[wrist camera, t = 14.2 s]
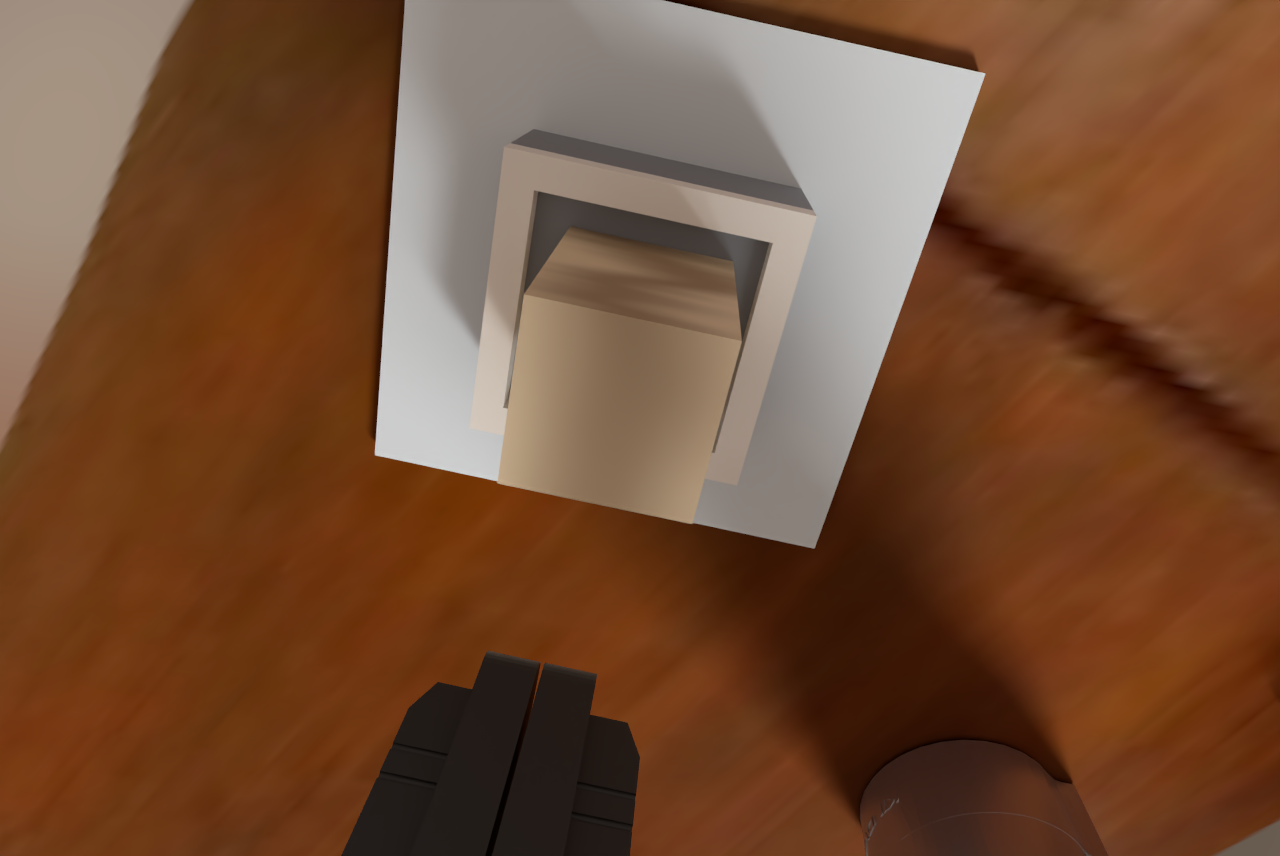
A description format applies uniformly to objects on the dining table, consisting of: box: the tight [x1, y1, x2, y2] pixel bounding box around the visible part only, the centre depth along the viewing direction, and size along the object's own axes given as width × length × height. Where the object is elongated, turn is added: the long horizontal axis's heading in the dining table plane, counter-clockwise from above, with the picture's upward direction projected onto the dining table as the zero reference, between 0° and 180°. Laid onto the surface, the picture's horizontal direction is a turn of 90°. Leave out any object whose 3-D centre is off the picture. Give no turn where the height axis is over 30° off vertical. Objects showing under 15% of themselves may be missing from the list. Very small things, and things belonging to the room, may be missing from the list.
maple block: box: [497, 226, 742, 524], centre depth 23 cm, size 5×5×7 cm
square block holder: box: [375, 0, 985, 549], centre depth 28 cm, size 18×18×5 cm
